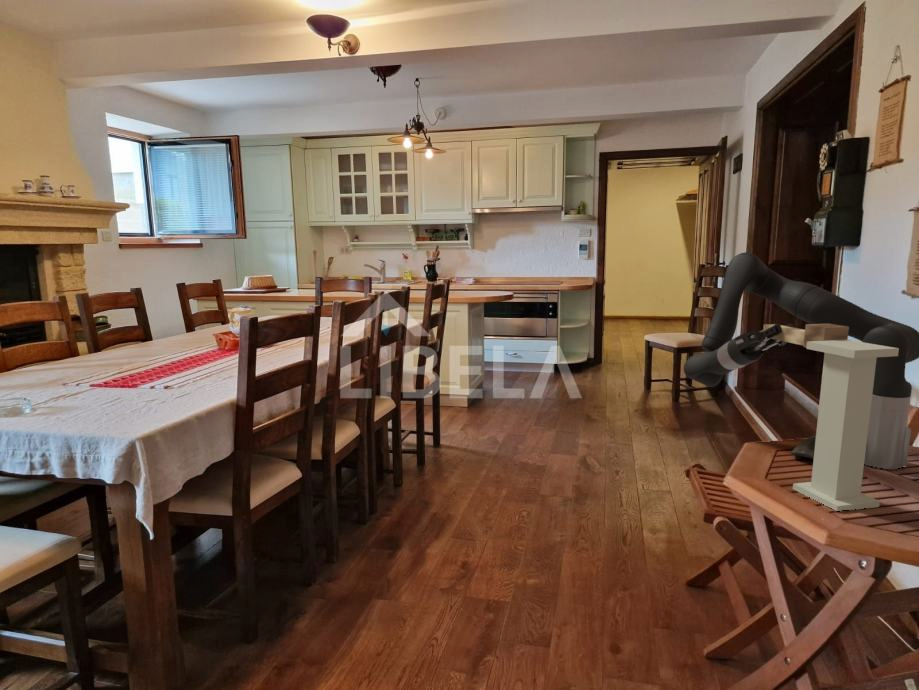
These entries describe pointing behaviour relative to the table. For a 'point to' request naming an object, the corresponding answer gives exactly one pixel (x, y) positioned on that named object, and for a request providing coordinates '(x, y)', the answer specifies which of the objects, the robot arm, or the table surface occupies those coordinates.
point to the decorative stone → (805, 448)
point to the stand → (843, 423)
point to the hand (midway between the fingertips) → (786, 327)
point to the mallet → (811, 333)
